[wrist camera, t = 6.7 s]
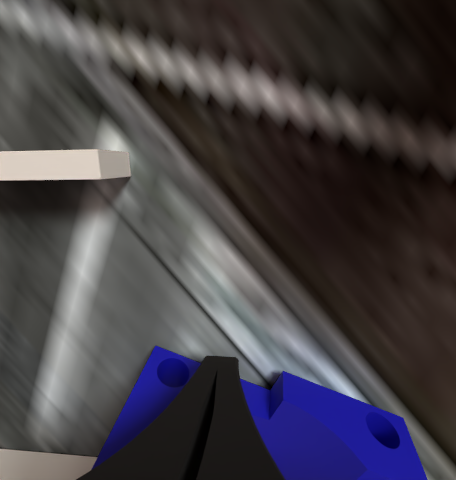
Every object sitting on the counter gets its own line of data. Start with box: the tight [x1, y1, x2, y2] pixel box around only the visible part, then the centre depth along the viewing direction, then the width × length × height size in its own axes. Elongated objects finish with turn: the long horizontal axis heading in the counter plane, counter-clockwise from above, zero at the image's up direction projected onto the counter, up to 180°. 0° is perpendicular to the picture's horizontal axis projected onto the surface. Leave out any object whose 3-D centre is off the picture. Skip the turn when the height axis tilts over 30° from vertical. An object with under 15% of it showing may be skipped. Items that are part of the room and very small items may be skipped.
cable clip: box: [91, 346, 427, 480], centre depth 12 cm, size 12×4×6 cm, turn 69°
